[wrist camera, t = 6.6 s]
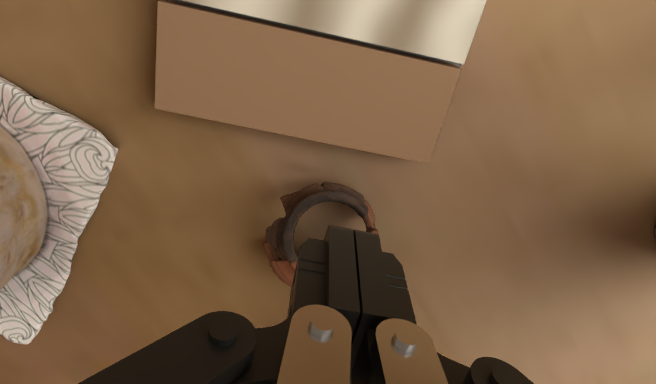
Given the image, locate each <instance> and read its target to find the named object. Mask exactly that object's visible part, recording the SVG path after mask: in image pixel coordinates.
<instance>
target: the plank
mask: <svg viewBox="0 0 656 384" xmlns="http://www.w3.org/2000/svg"><path fill="white" fill-rule="evenodd" d="M182 1H187V2H191V3H195V4H200V5H204V6H209V7H213V8H217V9H222V10H226V11H231V12H235V13H239V14H244V15H248V16H253V17H257V18H262V19H266V20H270V21H275V22H279V23H284V24H288V25H292V26H297V27H301V28H306V29H310V30H315V31H319V32H323V33H328V34H332V35H337V36H341V37H345V38H350V39H354V40H359V41H363V42H367V43H372V44H376V45H381V46H385V47H390V48H394V49H398V50H403V51H407V52H412V53H416V54H420V55H425V56H429V57H434V58H438V59H443V60H447V61H451V62H456V63H460V64H464V62H465V60H466V57H467V54H468V51H469V48H470V45H471V43H472V40H473V37H474V34H475V31H476V29H477V26H478V23H479V20H480V17H481V15H482V12H483V9H484V6H485V3H486V1H487V0H182Z"/></svg>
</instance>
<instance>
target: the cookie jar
mask: <svg viewBox="0 0 656 384" xmlns="http://www.w3.org/2000/svg"><path fill="white" fill-rule="evenodd" d="M117 152H118V148H116V147H114V146H113V145H112V144H111V143H110V142H108V140H107V139H106V138H105V137H104V135H103V134H102V133H101V132H100V131H98V130H97V129H95V128H94V127H92V126H91V125H89V124H87V123H86V122H84V121H82V120H81V119H79V118H77V117H76V116H74V115H72V114H69V113H67V112H65V111H63V110H61V109H59V108H57V107H55V106H53V105H51V104H48V103H46V102H44V101H42V100H40V99H38V98H36V97H34V96H32V95H31V94H29V93H28V92H26V91H24V90H23V89H21V88H20V87H18V86H16V85H15V84H13V83H12V82H10V81H8V80H6V79H4V78H2V77H0V334H1V335H2V336H4V337H5V338H6V339H7V340H8V341H11V342H14V343H18V344H29V343H30V342H31V341H32V340H33V338H34V337H35V336H36V335H37V334H38V332H39V331H40V329H41V327H42V324H43V322H44V321H46V320H47V318H48V315H49V314H50V313H51V312H52V311H53V305H52V304H53V303H54V301H55V299H56V297H57V296H58V295H59V294H60V293H61V292H62V290H63V288H64V286H65V283H66V281H67V278H68V276H69V274H70V269H71V263H72V257H73V255H74V253H75V251H76V248H77V245H78V238H79V236H80V235H81V234H82V232H83V230H84V228H85V226H86V224H87V222H88V221H89V219H90V218H91V216H92V214H93V213H94V211H95V209H96V208H97V205H98V202H99V198H100V195H101V193H102V191H103V190H104V188H105V187H106V186H107V183H108V180H109V174H110V172H111V170H112V167H113V164H114V161H115V157H116V155H117Z"/></svg>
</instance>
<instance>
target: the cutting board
mask: <svg viewBox="0 0 656 384" xmlns="http://www.w3.org/2000/svg"><path fill="white" fill-rule="evenodd" d="M460 66H461V64H460V63H456V62H451V61H447V60H443V59H438V58H434V57H429V56H425V55H420V54H416V53H412V52H407V51H403V50H398V49H394V48H390V47H385V46H381V45H376V44H372V43H367V42H363V41H359V40H354V39H350V38H345V37H341V36H337V35H332V34H328V33H323V32H319V31H315V30H310V29H306V28H301V27H297V26H292V25H288V24H284V23H279V22H275V21H270V20H266V19H262V18H257V17H253V16H248V15H244V14H239V13H235V12H231V11H226V10H222V9H217V8H213V7H209V6H204V5H200V4H195V3H191V2H187V1H182V0H161V1H158V7H157V42H156V77H155V109H159V110H164V111H169V112H173V113H178V114H183V115H188V116H193V117H198V118H203V119H208V120H213V121H218V122H223V123H228V124H233V125H238V126H243V127H248V128H253V129H258V130H263V131H268V132H273V133H277V134H282V135H287V136H292V137H297V138H302V139H307V140H312V141H317V142H322V143H327V144H332V145H337V146H342V147H347V148H352V149H357V150H362V151H367V152H372V153H376V154H381V155H386V156H391V157H396V158H401V159H406V160H411V161H416V162H421V163H426V164H429V162H430V159H431V157H432V154H433V151H434V148H435V145H436V142H437V139H438V136H439V133H440V131H441V128H442V125H443V122H444V119H445V116H446V113H447V110H448V108H449V105H450V102H451V99H452V96H453V93H454V90H455V87H456V85H457V82H458V79H459V76H460V73H461V70H462V69H460Z"/></svg>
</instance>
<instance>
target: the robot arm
mask: <svg viewBox="0 0 656 384" xmlns="http://www.w3.org/2000/svg"><path fill="white" fill-rule="evenodd" d="M655 236H656V230H655ZM78 384H534V383H533V382H531V381H530V380H529V379H528V378H527V377H525V376H524V375H523V374H522V373H521V372H519V371H518V370H517V369H516V368H514V367H513V366H511V365H510V364H508V363H506V362H504V361H502V360H499V359H496V358H492V357H481V358H478V359H476V360H475V361H474V362H473V363H472V365H471V367H470V368H469V367H467V366H464V365H462V364H460V363H458V362H455V361H453V360H451V359H448V358H446V357H444V356H442V355H441V354H439V353H437V352H436V349H435V346H434V344H433V342H432V340H431V338H430V337H429V335H428V334H427V333H426V332H425V331H424V330H423V329H422V328H420V327H419V326H417V324H416V320H415V316H414V312H413V308H412V304H411V300H410V296H409V292H408V290H407V284H406V280H405V275H404V271H403V267H402V265H401V264H400V262H399V261H398V260H397V259H396V257H395V256H394V255H393V254H391V253H386V252H382V250H381V245H380V239H379V235H378V234H374V233H369V232H364V231H359V230H353V229H348V228H343V227H338V226H332V225H328V228H327V231H326V235H325V238H324V241H322V240H317V239H311V238H308V239H307V241H306V242H305V243H304V244H303V245H302V246H301V247H300V252H299V256H298V261H297V265H296V269H295V274H294V278H293V283H292V287H291V294H290V302H289V309H288V317H287V319H286V320H285V321H283V322H282V323H280V324H278V325H275V326H272V327H266V328H257V329H255V328H254V326H253V325H252V323H251V322H250V321H249V320H248V319H246V318H245V317H243V316H241V315H239V314H236V313H233V312H227V311H217V312H212V313H208V314H206V315H203V316H201V317H199V318H198V319H196V320H194V321H192V322H190V323H188V324H187V325H185V326H183V327H181V328H179V329H177V330H176V331H174V332H172V333H170V334H168V335H166V336H165V337H163V338H161V339H159V340H157V341H155V342H154V343H152V344H150V345H148V346H146V347H144V348H142V349H141V350H139V351H137V352H135V353H133V354H131V355H130V356H128V357H126V358H124V359H122V360H120V361H119V362H117V363H115V364H113V365H111V366H109V367H108V368H106V369H104V370H102V371H100V372H98V373H97V374H95V375H93V376H91V377H89V378H87V379H86V380H84V381H82V382H80V383H78Z"/></svg>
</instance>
